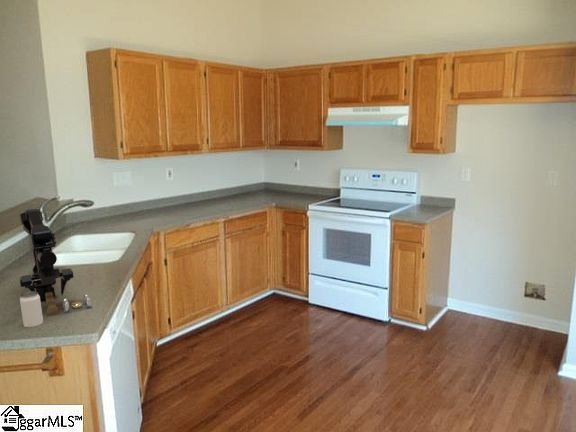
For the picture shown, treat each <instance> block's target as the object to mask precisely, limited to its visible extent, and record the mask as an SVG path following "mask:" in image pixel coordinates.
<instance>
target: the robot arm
mask: <svg viewBox="0 0 576 432" xmlns="http://www.w3.org/2000/svg"><path fill="white" fill-rule="evenodd" d="M43 221H44V216H43V212H42V211H41V210H40V209H38V208H32V209H27V210H25V211H24V212H22V213H20V214H19V222H20V225H22V229H23V230H24V231H25V233H26V234H28V237H29V238H28V239H29V242H30V248H31V253H32V257H33V262H34V266H33V268H32V272H31V273H32V274H28V275H21V276H20V277H19V284H20V287H22V288H23V287H24V288H25V289H28V290H29V292H33V291H35V292H38V295H39V296H40V301H41V302H46V296H45V293H49V292H52V293H53V296H54V298H55V297H56V292H55V287H54V285H56V284H57V279H60V294H61V296H64V292H65V288H66V285H67V283H68V281H71V279H74V271H73V270H72V269H71V268H63V269H60V268H59V267H58V268H55V267H54V266H55V264H56V263H57V259H58V258H57V255H56V254H55V252H54V251H53V250H52V248H56V247H57V240H56V235H55V233H54V232H53V231H52V230H51V229H50V227H49V226H47V225H45V224H44V222H43Z"/></svg>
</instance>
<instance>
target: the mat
mask: <svg viewBox="0 0 576 432" xmlns="http://www.w3.org/2000/svg"><path fill="white" fill-rule="evenodd" d="M74 302H82V305H83V307H82V308H80V309H72V305H71V304H72V303H74ZM61 307H62V309H63V303H62V304H61ZM69 309H70V312H69V313H65V310H64V309H63V311H64V314H65V315H66V314H72V313H76V312H77V313H78V312H81V311H86V310H90V309H91V310H92V309H93V307H92V306H91V308H89V309H87V307H86V305H85V301H84V299H81V300H76V301H70V302H69Z"/></svg>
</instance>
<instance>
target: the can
mask: <svg viewBox="0 0 576 432" xmlns="http://www.w3.org/2000/svg"><path fill="white" fill-rule="evenodd" d="M41 302H42V301H40V296H39V295H38V292H36V290H35V291H33V292H31V291H27V292H24V293H22V294H20V298H19V303H20V309H21V317H22V324H23V326H24V328H33V327H34V328H35V327H38V326H39V325H42V324H43V323H44V318H43V308H42V303H41Z"/></svg>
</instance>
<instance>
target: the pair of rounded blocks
mask: <svg viewBox="0 0 576 432" xmlns="http://www.w3.org/2000/svg"><path fill="white" fill-rule="evenodd" d="M83 298H84V299H83V300H84V301H85V305H86V307H87V310H90V309H89V308H91V307H92V299H91V297H90V295H89V293H85V294H83ZM61 300H62V304H63V307H62V309H64V310H65V313H68V314H70V313H69V312H70V309H69V303H70V302H69V301H68V298H67V297H66V298H62V299H61ZM91 309H92V308H91ZM64 310H63V311H64ZM65 313H64V314H65Z"/></svg>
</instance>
